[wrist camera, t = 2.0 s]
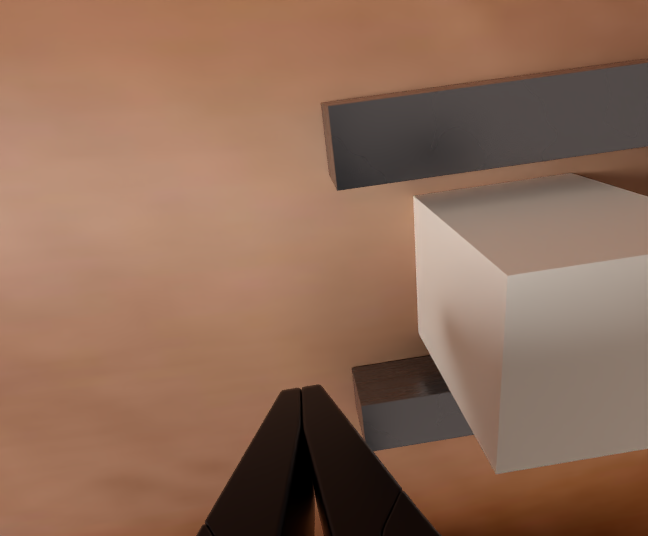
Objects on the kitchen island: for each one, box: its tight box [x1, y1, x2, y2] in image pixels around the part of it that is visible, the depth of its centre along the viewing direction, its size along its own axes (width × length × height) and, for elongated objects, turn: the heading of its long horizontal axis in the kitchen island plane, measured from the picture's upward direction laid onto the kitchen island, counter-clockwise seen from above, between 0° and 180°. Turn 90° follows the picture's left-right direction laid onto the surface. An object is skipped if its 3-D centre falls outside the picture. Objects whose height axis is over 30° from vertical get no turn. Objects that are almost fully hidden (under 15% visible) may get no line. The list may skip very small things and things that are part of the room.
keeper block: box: [413, 173, 648, 474], centre depth 11 cm, size 5×5×6 cm
